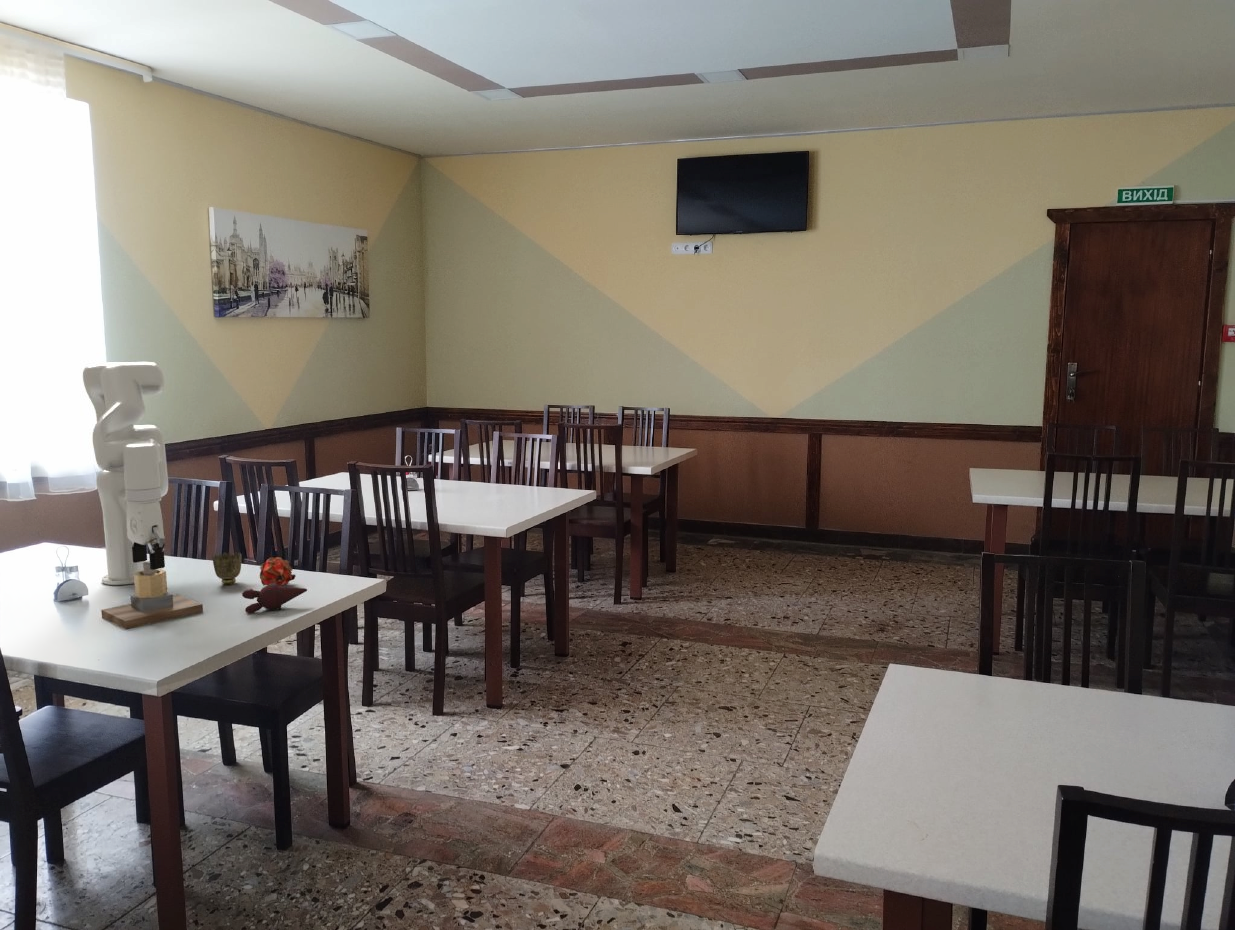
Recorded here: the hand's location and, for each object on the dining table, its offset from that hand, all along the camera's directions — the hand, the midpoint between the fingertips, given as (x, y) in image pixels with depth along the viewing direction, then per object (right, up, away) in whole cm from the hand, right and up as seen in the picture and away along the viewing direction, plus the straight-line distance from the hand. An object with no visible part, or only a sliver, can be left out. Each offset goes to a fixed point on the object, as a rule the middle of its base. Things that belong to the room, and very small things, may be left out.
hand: (148, 565), depth 228 cm
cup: (+7, -8, +30) cm, 32 cm away
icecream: (+29, -12, +6) cm, 31 cm away
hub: (0, -7, +1) cm, 7 cm away
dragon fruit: (+21, -9, +26) cm, 35 cm away
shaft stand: (0, -12, +1) cm, 12 cm away
